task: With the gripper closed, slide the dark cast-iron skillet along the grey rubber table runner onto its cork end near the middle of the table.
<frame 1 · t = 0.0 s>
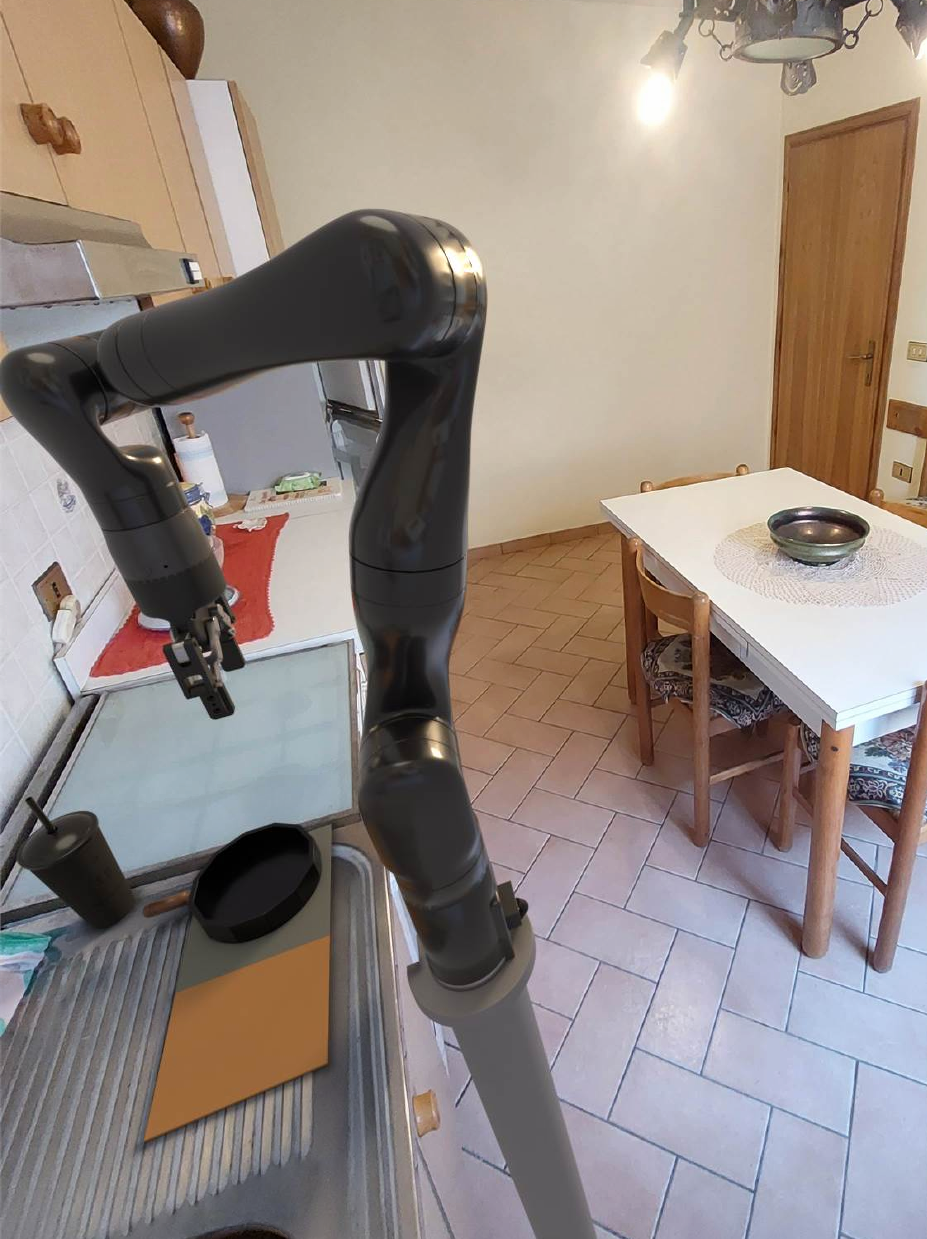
hand: (230, 690, 70), 30 cm above the worktop, tool pointing down, fingers open, 8 cm apart
drinking cup: (113, 911, 82), on the worktop
skillet: (263, 888, 82), resting on runner
runner: (248, 1027, 68), on the worktop
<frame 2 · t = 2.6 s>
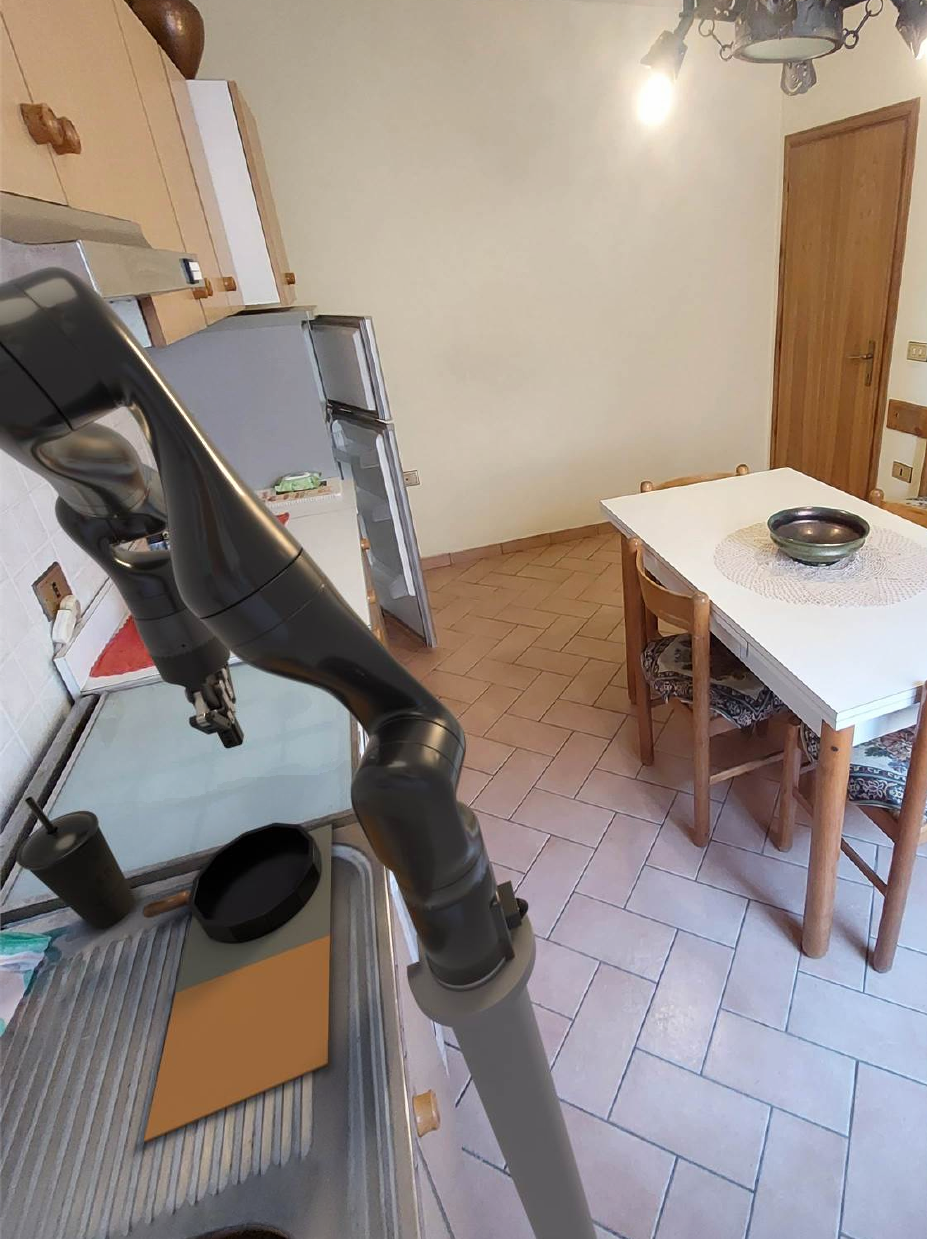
hand: (235, 742, 87), 14 cm above the worktop, tool pointing down, fingers closed
nothing on the worktop moved.
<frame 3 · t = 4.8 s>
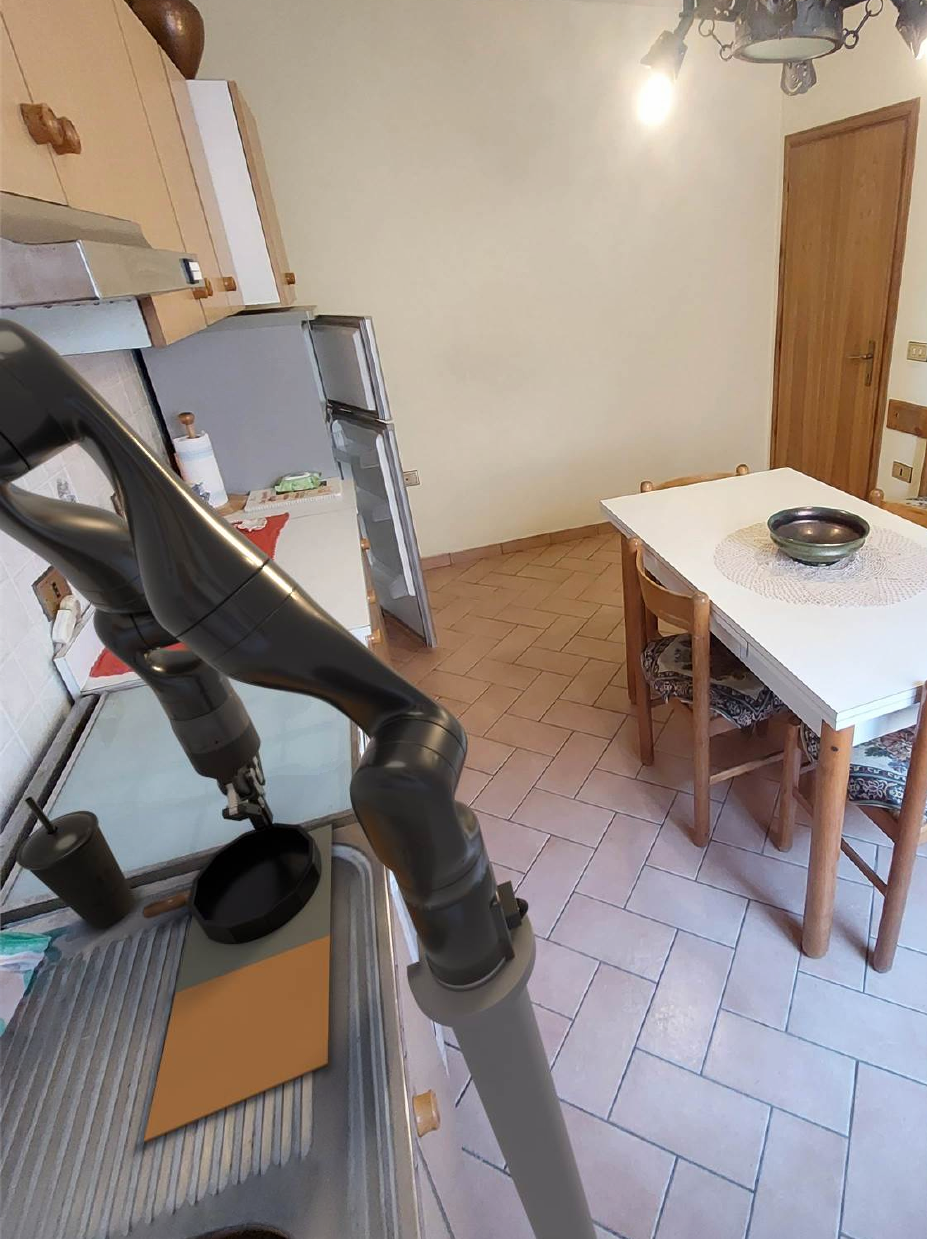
hand: (265, 823, 88), 3 cm above the worktop, tool pointing down, fingers closed
skillet: (263, 889, 82), resting on runner, touching gripper
everything else where it was.
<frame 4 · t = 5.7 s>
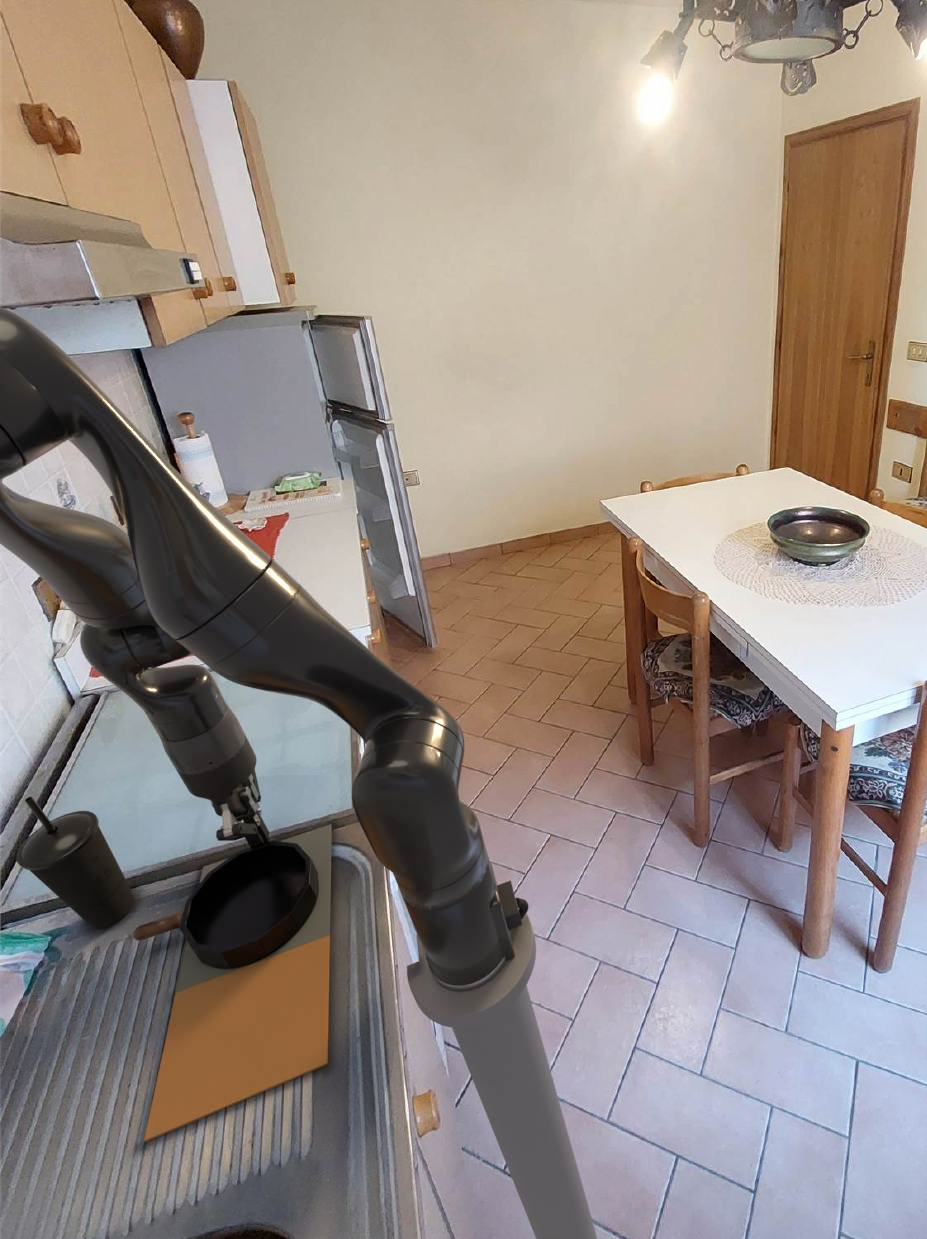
hand: (260, 840, 86), 3 cm above the worktop, tool pointing down, fingers closed
skillet: (258, 910, 80), resting on runner, touching gripper
everything else where it was.
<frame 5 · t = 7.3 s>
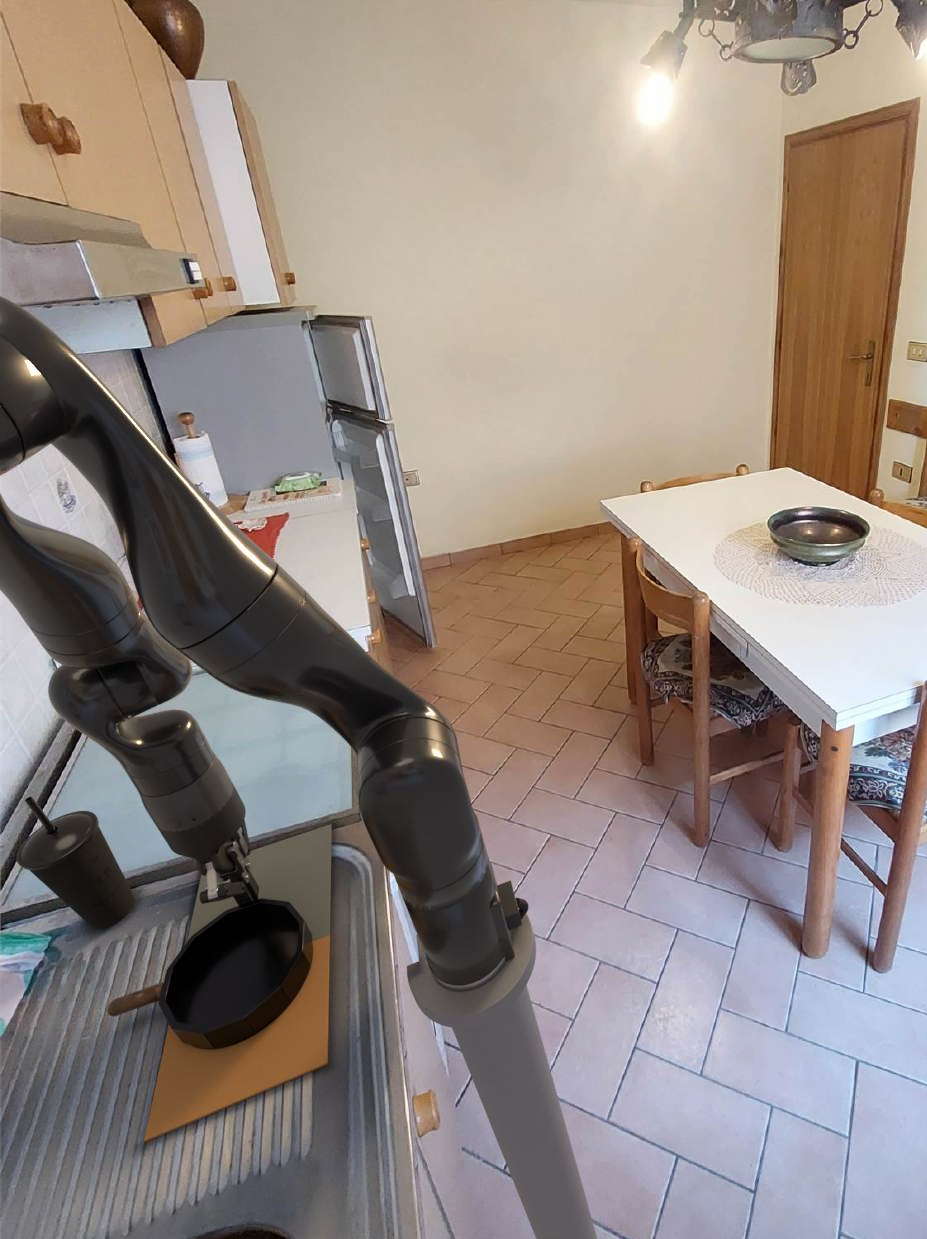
hand: (249, 897, 78), 3 cm above the worktop, tool pointing down, fingers closed
skillet: (246, 978, 73), resting on runner, touching gripper
everything else where it was.
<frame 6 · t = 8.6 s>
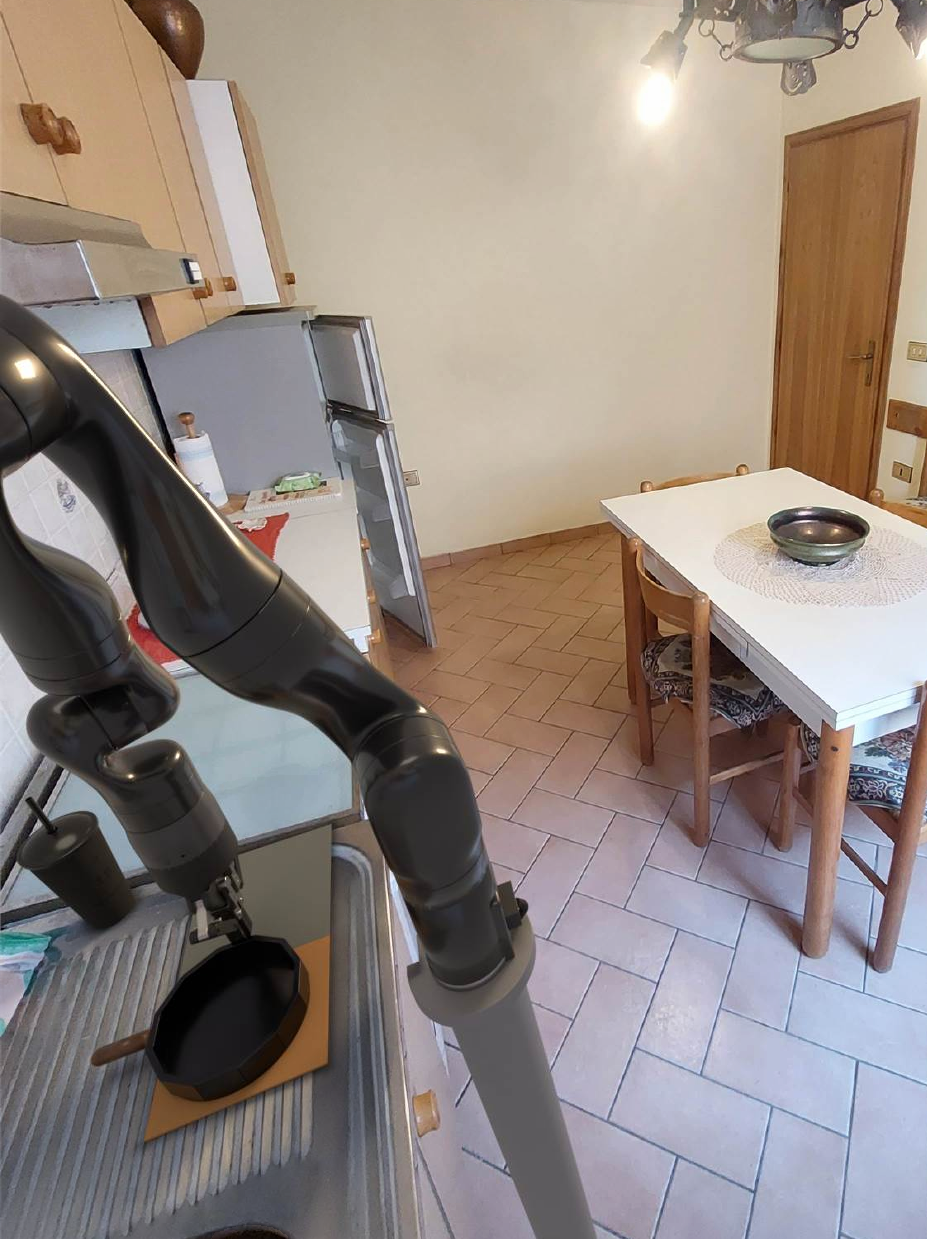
hand: (242, 933, 75), 3 cm above the worktop, tool pointing down, fingers closed
skillet: (239, 1021, 69), resting on runner, touching gripper
everything else where it was.
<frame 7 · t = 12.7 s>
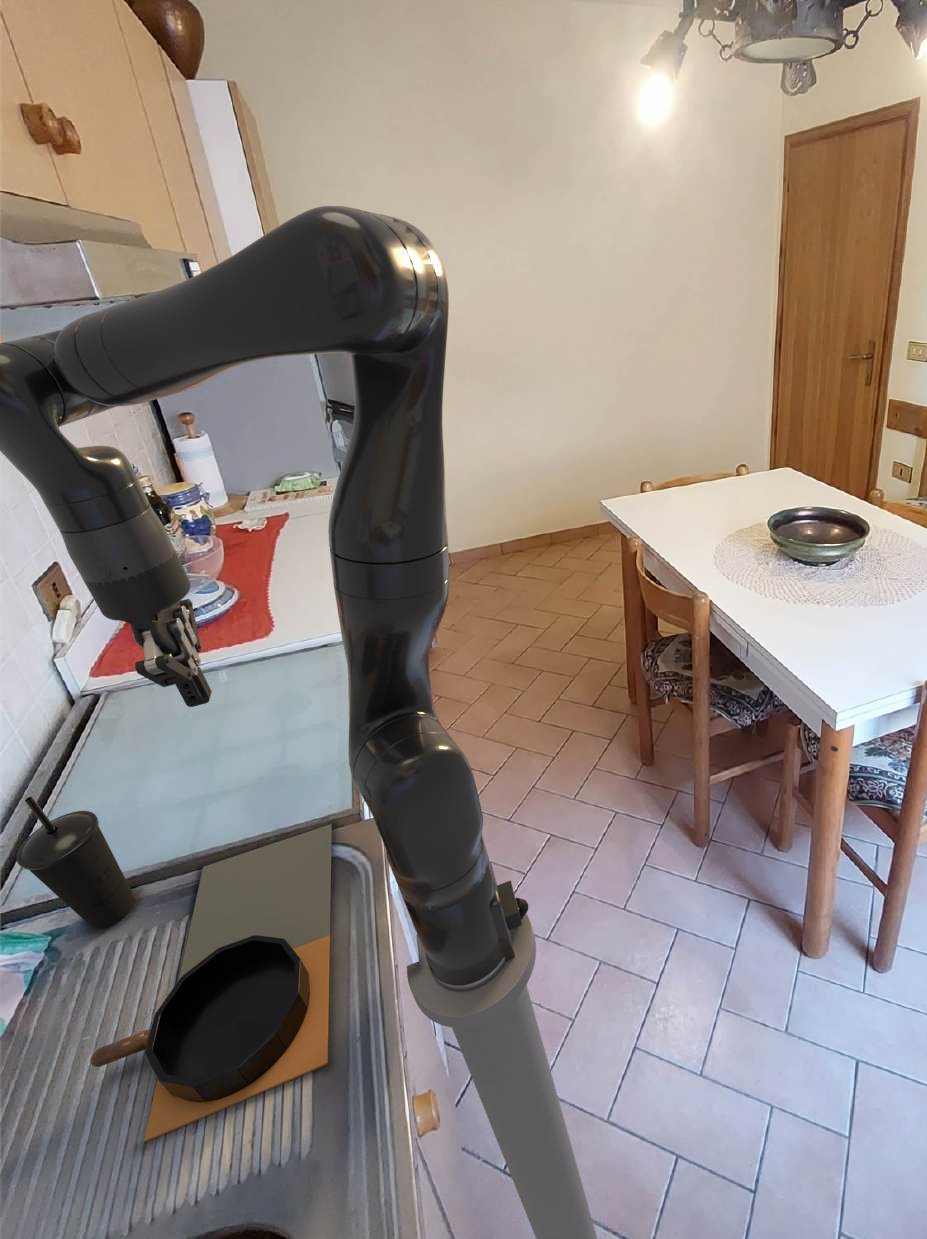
hand: (200, 700, 70), 29 cm above the worktop, tool pointing down, fingers closed
skillet: (239, 1021, 69), resting on runner
everything else where it was.
at the end: skillet inside the target area on the runner (1.1 cm from its centre), point 0.3 cm above the runner's base; skillet tilted 0° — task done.
